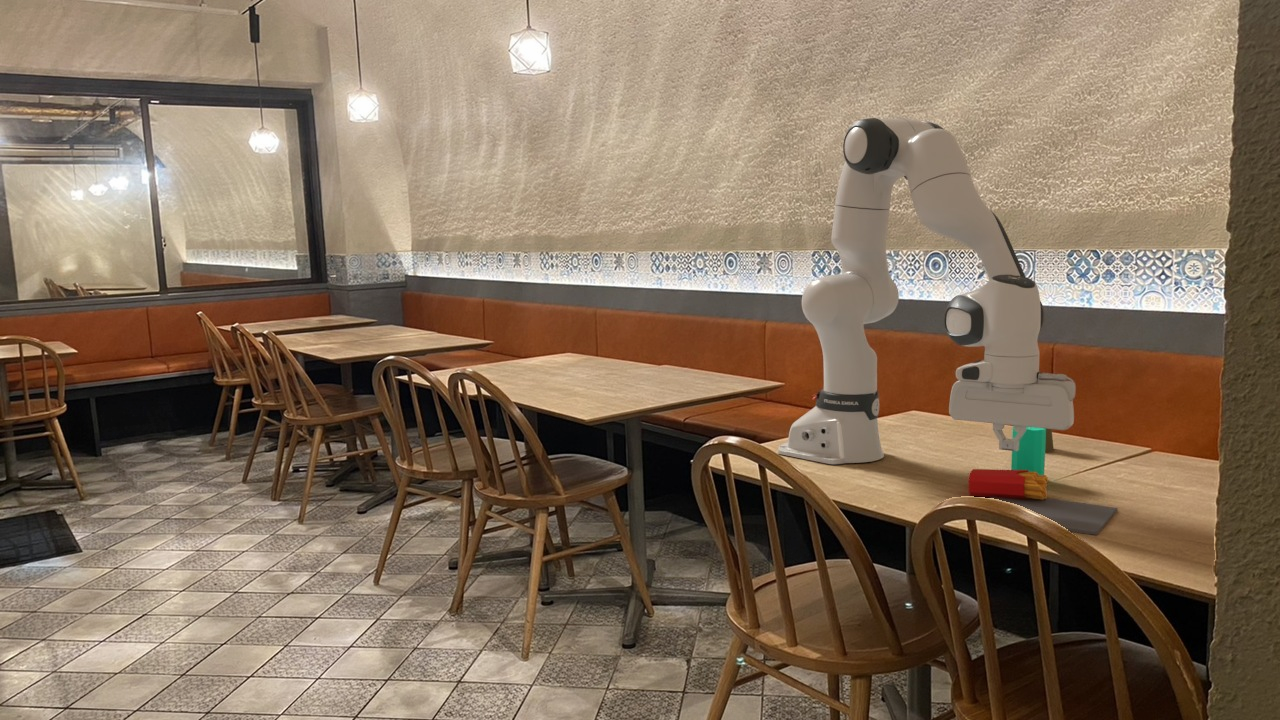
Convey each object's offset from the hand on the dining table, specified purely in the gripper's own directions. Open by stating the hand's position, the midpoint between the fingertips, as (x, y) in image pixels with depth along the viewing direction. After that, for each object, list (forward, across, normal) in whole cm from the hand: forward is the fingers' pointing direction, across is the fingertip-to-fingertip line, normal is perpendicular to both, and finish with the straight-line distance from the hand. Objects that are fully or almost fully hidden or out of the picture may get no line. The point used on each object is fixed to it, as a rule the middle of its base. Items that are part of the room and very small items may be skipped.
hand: (1008, 449), depth 171 cm
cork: (+10, +7, -48) cm, 50 cm away
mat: (+10, -6, 0) cm, 12 cm away
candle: (+10, +2, -20) cm, 23 cm away
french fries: (+8, +8, -6) cm, 13 cm away
